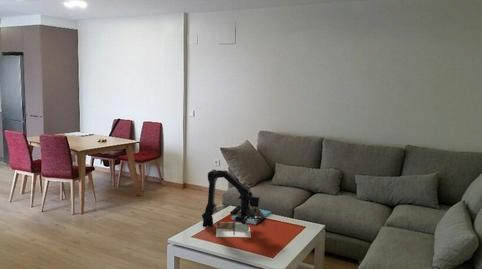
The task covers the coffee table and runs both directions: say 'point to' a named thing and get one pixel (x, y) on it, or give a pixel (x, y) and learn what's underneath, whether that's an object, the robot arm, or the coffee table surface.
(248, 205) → the robot arm
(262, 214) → the worn brown figurine
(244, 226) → the fence panel
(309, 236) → the coffee table surface
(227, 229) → the card
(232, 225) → the fence fixed section
